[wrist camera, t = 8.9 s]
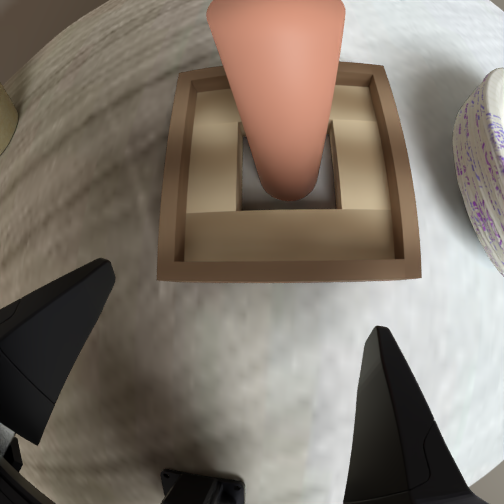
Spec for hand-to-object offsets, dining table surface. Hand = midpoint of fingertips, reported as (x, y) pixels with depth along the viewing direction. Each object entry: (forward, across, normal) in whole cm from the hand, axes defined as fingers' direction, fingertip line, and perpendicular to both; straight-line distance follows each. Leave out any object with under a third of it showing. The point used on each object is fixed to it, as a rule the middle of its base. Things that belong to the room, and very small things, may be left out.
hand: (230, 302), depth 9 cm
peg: (+12, 0, 0) cm, 12 cm away
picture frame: (+12, 0, 0) cm, 12 cm away
